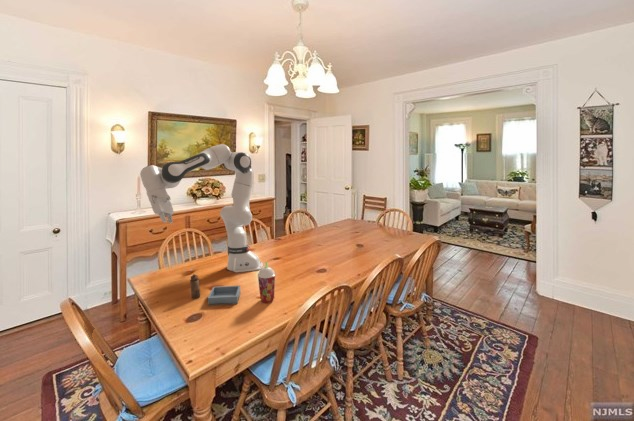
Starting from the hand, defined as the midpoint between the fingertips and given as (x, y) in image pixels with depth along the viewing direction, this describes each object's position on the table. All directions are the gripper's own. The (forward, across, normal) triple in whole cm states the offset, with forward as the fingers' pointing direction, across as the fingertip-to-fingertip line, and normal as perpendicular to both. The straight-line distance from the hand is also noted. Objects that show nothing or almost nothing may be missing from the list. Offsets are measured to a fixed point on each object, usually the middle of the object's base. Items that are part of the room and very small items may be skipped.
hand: (168, 222), depth 158 cm
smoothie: (+54, -8, -32) cm, 63 cm away
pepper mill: (+40, +1, +1) cm, 40 cm away
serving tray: (+46, -3, -13) cm, 48 cm away
